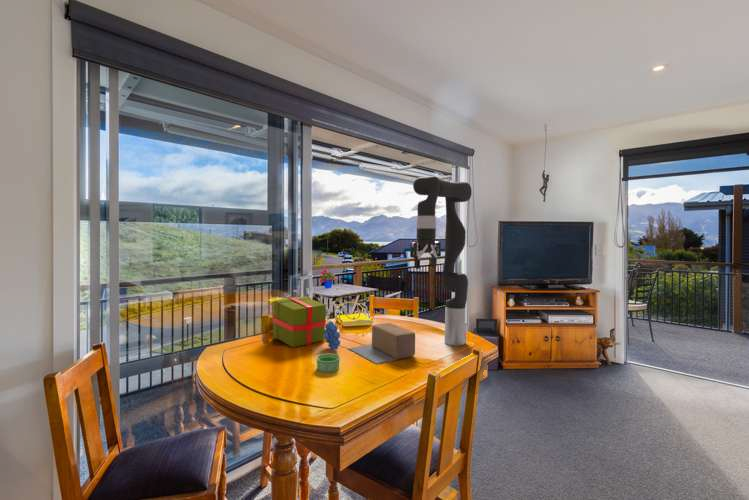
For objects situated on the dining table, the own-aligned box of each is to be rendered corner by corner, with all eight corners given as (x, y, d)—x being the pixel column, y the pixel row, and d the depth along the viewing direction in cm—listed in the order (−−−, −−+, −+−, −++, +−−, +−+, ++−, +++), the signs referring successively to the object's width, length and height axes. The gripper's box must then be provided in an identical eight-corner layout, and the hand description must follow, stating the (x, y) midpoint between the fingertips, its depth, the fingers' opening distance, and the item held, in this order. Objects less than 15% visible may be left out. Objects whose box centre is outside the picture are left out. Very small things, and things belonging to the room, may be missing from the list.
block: (416, 332, 153) (389, 322, 170) (396, 335, 148) (371, 324, 165) (415, 356, 154) (389, 343, 171) (395, 360, 148) (370, 346, 166)
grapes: (317, 347, 165) (317, 320, 164) (330, 344, 169) (330, 318, 168) (329, 354, 155) (330, 326, 155) (343, 351, 159) (344, 324, 159)
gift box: (324, 348, 174) (296, 333, 192) (332, 304, 175) (304, 294, 193) (285, 349, 160) (259, 333, 178) (295, 302, 160) (268, 290, 179)
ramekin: (320, 374, 133) (320, 362, 133) (312, 366, 141) (313, 355, 141) (343, 370, 138) (343, 359, 137) (334, 363, 145) (335, 352, 145)
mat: (382, 342, 173) (382, 342, 173) (412, 356, 154) (412, 355, 154) (348, 349, 163) (348, 348, 163) (376, 364, 144) (376, 363, 144)
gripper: (432, 227, 154) (432, 266, 155) (406, 227, 146) (405, 268, 147) (445, 227, 148) (445, 267, 149) (418, 227, 140) (418, 270, 141)
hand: (425, 267), depth 148 cm, fingers open, 8 cm apart
